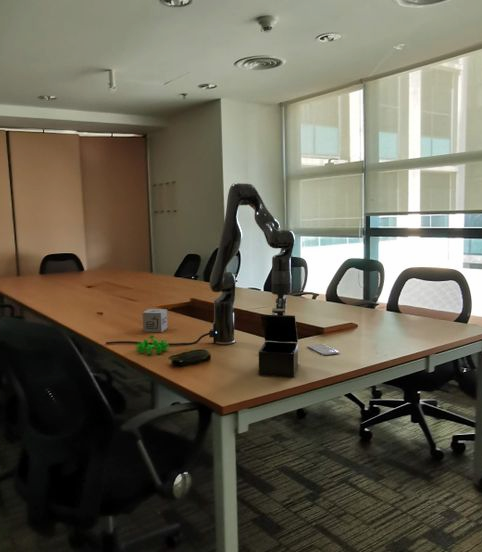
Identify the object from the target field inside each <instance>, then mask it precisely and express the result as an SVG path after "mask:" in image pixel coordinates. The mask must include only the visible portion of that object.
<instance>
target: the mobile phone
mask: <svg viewBox="0 0 482 552" xmlns="http://www.w3.org/2000/svg"><path fill="white" fill-rule="evenodd" d="M307 347H308V348H310V349H311V350H313V351H315V352H317V353H319V354H321V355H322V356H328V355H337V354H339V351H338V350H336V349H334V348H332V347H330V346H328V345H326V344H324V343H312V344H308V345H307Z"/></svg>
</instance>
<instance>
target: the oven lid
mask: <svg viewBox="0 0 482 552" xmlns="http://www.w3.org/2000/svg"><path fill="white" fill-rule="evenodd" d="M277 313H282V314H283V315H277ZM286 314H287V307H286V308H276V307H272V308H271V314H260V315H259V317H260V321H261V327H262V333H263V338H264V342H265V341H271V342H292V343H299V339H298V329H297V321H296V315H292V314H291V315H289V314H288V315H286Z"/></svg>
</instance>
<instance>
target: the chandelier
mask: <svg viewBox="0 0 482 552" xmlns="http://www.w3.org/2000/svg"><path fill="white" fill-rule="evenodd" d="M149 338H151V343H152V345H150V344H149V342H150V341H149V340H148V339H144V340H143V341H137V342H138V343H139V344H135V348H136V351H137V353H138V354H141V355H142V354H144V353H145V352H146V354H147V355H149V356H150V355H151V354H152V351H153V348H154V349H155V353H156V354H157V355H160V354H161V353H162V352H164V353H165V352H168V350H170V349H169V348H170V345H168V343H169V342H167V340H166V339H161V340H160V341H159V342H158V339H157V338H155V335H154V334H151V335H149ZM153 339H154V340H153ZM143 342H144V343H143ZM158 343H159V344H160V345H159V344H158ZM165 343H166V344H165Z"/></svg>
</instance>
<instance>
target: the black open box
mask: <svg viewBox="0 0 482 552" xmlns="http://www.w3.org/2000/svg"><path fill="white" fill-rule="evenodd" d="M298 365H299V342H278V341H265V340H264V343H262V346H261V347H260V349H259V351H258V376H261V377H262V376H264V377H279V378H295V375H296V371H297V369H298Z"/></svg>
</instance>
